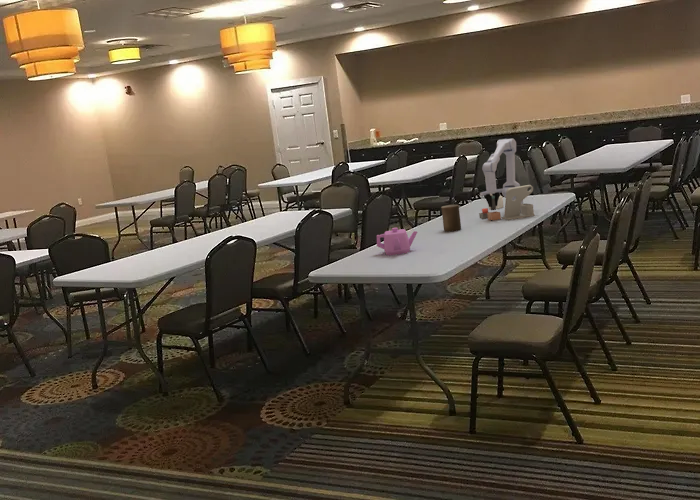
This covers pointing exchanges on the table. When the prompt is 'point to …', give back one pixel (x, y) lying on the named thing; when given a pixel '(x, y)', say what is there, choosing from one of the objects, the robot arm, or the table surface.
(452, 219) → the pillar candle
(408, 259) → the table surface
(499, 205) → the medicine bottle
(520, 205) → the phone holder
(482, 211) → the button
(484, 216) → the button base
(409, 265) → the table surface
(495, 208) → the marker
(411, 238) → the teakettle
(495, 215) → the pen cup
